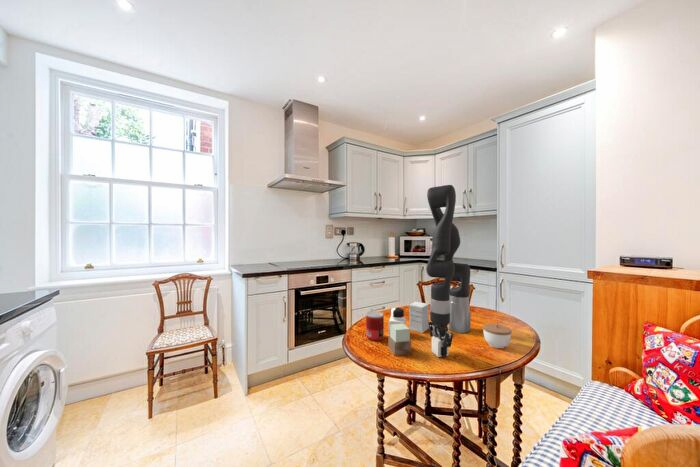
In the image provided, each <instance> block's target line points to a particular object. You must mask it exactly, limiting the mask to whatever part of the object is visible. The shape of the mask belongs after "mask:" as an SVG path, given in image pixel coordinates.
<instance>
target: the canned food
mask: <svg viewBox="0 0 700 467" xmlns="http://www.w3.org/2000/svg"><path fill="white" fill-rule="evenodd" d="M365 316H366V317H365V321H366V322H365V324H366V328H365V330H366V331H365V336H366V338H367V340H369V341H373V342H378V341H381V340H383V339H384V327H385V325H384V324H385V322H384V321H385V319H384V317H385V316H384V313H383V312H380V311H368V312H366V315H365Z"/></svg>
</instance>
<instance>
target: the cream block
mask: <svg viewBox="0 0 700 467" xmlns="http://www.w3.org/2000/svg"><path fill="white" fill-rule="evenodd" d="M444 337H445V336H444ZM444 337H441V338H444ZM443 343H444V340H443ZM449 348H450V347H447V355H446V356H447V357H448V356H449ZM431 353H433V354H434V355H435V356H436V357H437V358H439V357H442V356H441V341H440V340H439V338H438V336H436V337H434V336H433V337H431ZM446 356H445V357H446Z"/></svg>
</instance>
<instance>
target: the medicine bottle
mask: <svg viewBox="0 0 700 467" xmlns="http://www.w3.org/2000/svg"><path fill="white" fill-rule="evenodd" d="M390 310H391V311H390V318H389V320H388V336H390V325H391V324H404V325H406V326H407V324H406V323H407V318H406V317H405V310H404V308H401V307H393V308H391V309H390Z"/></svg>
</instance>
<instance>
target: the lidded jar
mask: <svg viewBox="0 0 700 467" xmlns="http://www.w3.org/2000/svg"><path fill="white" fill-rule="evenodd" d="M482 329H483V330H482V331H483V337H484V340H485V341H486V343H488V344H487V345H489V347H491V346H492V347H491V348H494V347H495V349H498V348H503V349H505V348H506V347H508V346H509V344H510V342H511V339H512V332H513V331H512V328H510V327H508V326H506V325H503V324H499V323H492V322H490V323H484V324H483V325H482ZM504 347H505V348H504Z"/></svg>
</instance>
